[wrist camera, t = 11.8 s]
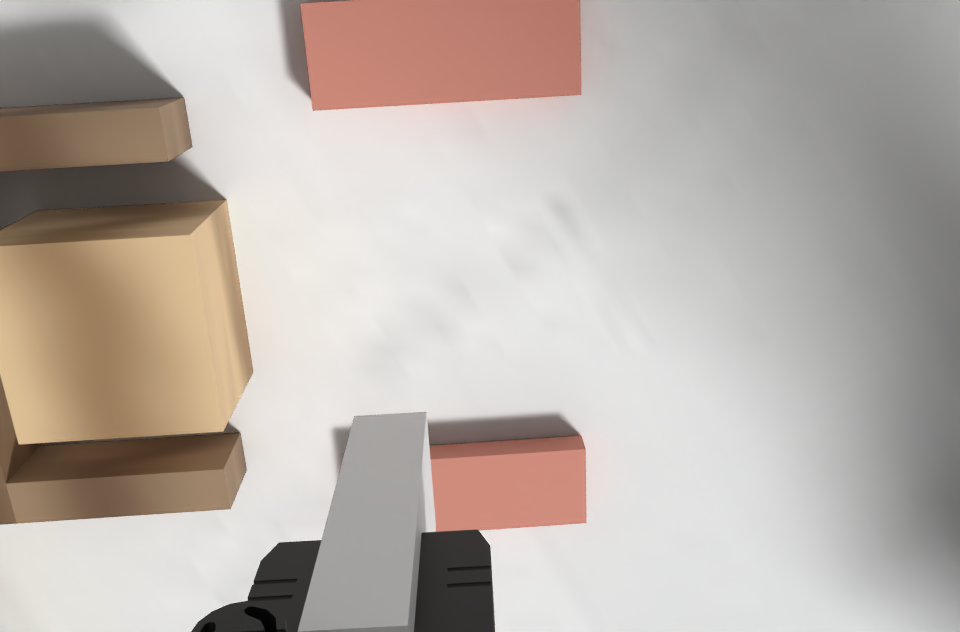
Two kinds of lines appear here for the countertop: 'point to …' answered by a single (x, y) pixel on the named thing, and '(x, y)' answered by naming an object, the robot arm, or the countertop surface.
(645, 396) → the countertop surface
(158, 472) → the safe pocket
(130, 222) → the oak block
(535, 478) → the mats
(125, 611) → the countertop surface
